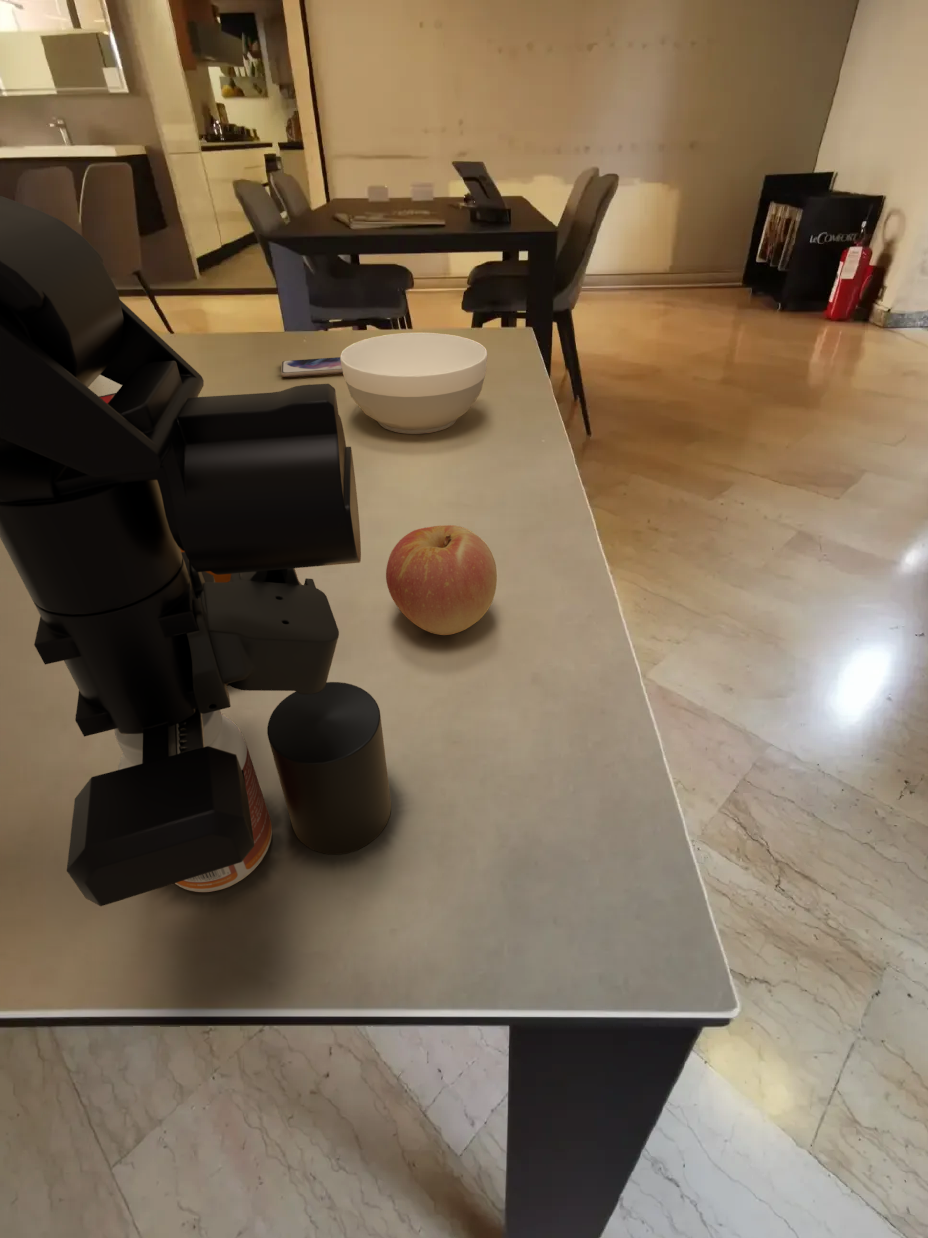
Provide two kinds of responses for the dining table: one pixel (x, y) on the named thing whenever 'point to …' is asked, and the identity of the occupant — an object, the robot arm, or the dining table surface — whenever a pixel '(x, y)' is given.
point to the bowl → (415, 379)
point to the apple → (442, 578)
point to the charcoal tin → (332, 766)
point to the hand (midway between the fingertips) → (207, 809)
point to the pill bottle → (230, 739)
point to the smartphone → (311, 367)
